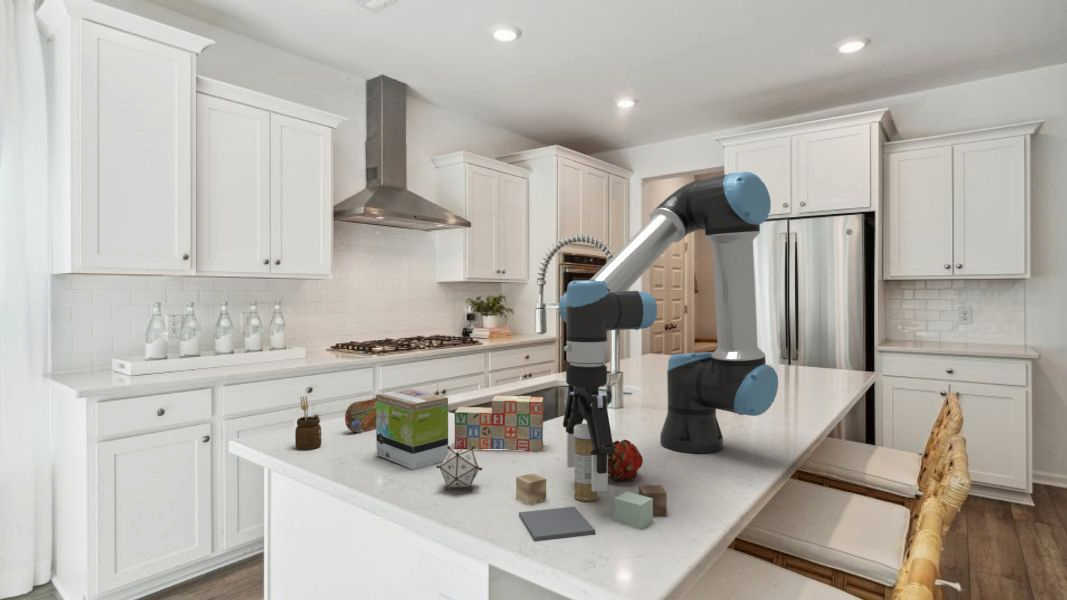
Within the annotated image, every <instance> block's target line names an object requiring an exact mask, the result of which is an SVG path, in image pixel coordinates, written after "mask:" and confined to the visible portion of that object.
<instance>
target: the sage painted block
mask: <svg viewBox="0 0 1067 600" xmlns="http://www.w3.org/2000/svg"><path fill="white" fill-rule="evenodd" d="M613 501H614V502H613V503H614V504H613V505H614V506H613V507H614V509H613V510H614V517H613V519H614V522H616V523H620V524H622V525H626V526H630V527H633V528H635V529H639V530H642V529H644V528H645V527H647V526H648V525H650V524H651V523H653V522H654V521H653V519H654V516H653V498H650V497H646V496H642V495H639V493H634V492H630V491H625V492H623V493H621V494H619V495H617V496H616V497H614V500H613Z"/></svg>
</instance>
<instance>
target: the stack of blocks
mask: <svg viewBox="0 0 1067 600" xmlns="http://www.w3.org/2000/svg"><path fill="white" fill-rule="evenodd" d="M543 445H544V397H543V396H542V397H541V396H531V395H516V396H514V395H495V396H493V398H492V400H491V407H479V406H478V407H476V406H474V407H470V406H468V407H467V406H459V407H458V408H457V409H456V410H455V412H454V449H471V448H472V447H473V446H474V449H507V450H508V449H509V450H523V451H522V452H530V451H543ZM524 450H525V451H524Z"/></svg>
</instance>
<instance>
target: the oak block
mask: <svg viewBox="0 0 1067 600" xmlns="http://www.w3.org/2000/svg"><path fill="white" fill-rule="evenodd" d="M515 478H516V479H515V486H516V487H515V490H516V491H515V492H516V493H515V498H516V499H517V500H519V499H520V500H521V502H522V501H523V503H524V502H525V504H526V503H527V504H526V505H528V504H530V505H533V504H532V503H534V504H536V503H535V502H537V503H539V502H538V501H541V500H545V499H546V500H547V478H546V477H543V476H540V475H538V474H537V473H535V472H533V473H529V474H524V475H519V476H516V477H515ZM520 500H519V501H520ZM546 500H545V501H546ZM541 502H542V501H541Z"/></svg>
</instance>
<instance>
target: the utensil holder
mask: <svg viewBox="0 0 1067 600" xmlns="http://www.w3.org/2000/svg"><path fill="white" fill-rule="evenodd" d="M310 406H311V410H314V409H313V407H316V405H315V404H313V403H311V404H309V403H308V397H307V396H300V408H301V410H302V411H303V414H304V416H303V417H299V418H298V419H297V420H296V425H297V426H296V428H295V431H294V432H295V434H294V435H295V437H294V438H295V442H294V443H295V448H296V449H297V450H300V451H311V450H315V449H318V448H320V447H321V446H322V427H321V424H320V423H321V419H320V417H319V416H315V414H316V413H313V415H311V416H309V414H307V413H306V412H309V409H310V408H309V407H310ZM306 410H307V411H306Z"/></svg>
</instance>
